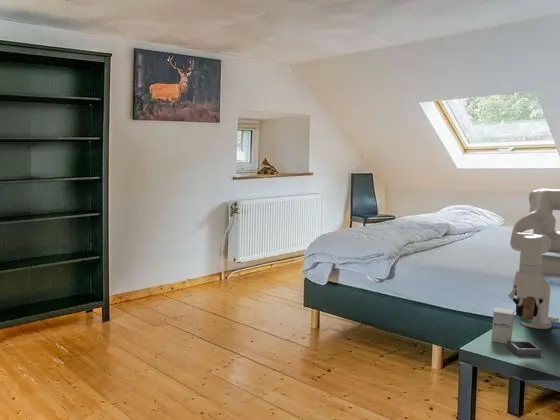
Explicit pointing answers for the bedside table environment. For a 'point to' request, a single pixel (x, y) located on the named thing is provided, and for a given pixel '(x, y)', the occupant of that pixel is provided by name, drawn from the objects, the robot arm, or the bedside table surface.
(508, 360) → the bedside table surface
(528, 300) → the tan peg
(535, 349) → the socket
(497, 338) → the supplement box
